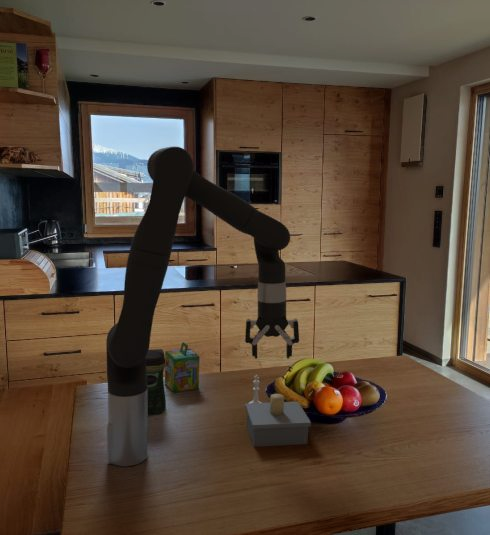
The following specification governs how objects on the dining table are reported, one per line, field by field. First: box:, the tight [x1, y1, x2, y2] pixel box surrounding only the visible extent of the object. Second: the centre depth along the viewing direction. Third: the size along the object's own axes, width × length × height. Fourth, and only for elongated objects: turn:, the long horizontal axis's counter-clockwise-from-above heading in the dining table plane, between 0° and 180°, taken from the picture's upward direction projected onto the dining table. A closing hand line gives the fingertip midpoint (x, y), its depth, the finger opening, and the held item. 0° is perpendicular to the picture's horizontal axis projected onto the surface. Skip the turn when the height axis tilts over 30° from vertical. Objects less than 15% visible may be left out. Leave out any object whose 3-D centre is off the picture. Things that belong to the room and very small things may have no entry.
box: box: [246, 413, 309, 447], centre depth 132 cm, size 14×12×6 cm
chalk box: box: [164, 341, 200, 394], centre depth 165 cm, size 9×9×15 cm
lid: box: [244, 393, 312, 429], centre depth 131 cm, size 15×13×6 cm
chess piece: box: [248, 374, 263, 403], centre depth 151 cm, size 5×5×10 cm
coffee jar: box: [146, 348, 167, 416], centre depth 145 cm, size 10×8×19 cm
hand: (272, 357), depth 132 cm, fingers open, 8 cm apart
